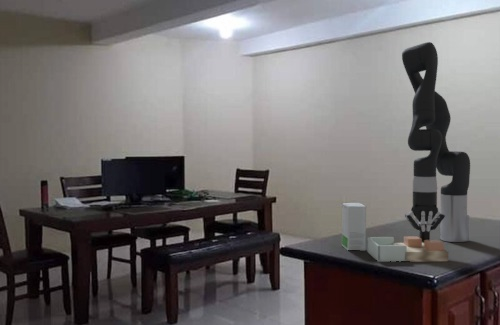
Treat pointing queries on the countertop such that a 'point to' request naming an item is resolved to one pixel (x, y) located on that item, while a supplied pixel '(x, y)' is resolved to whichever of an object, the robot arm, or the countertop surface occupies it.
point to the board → (424, 254)
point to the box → (386, 249)
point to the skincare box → (353, 226)
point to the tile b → (434, 245)
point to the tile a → (412, 241)
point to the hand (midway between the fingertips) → (424, 242)
